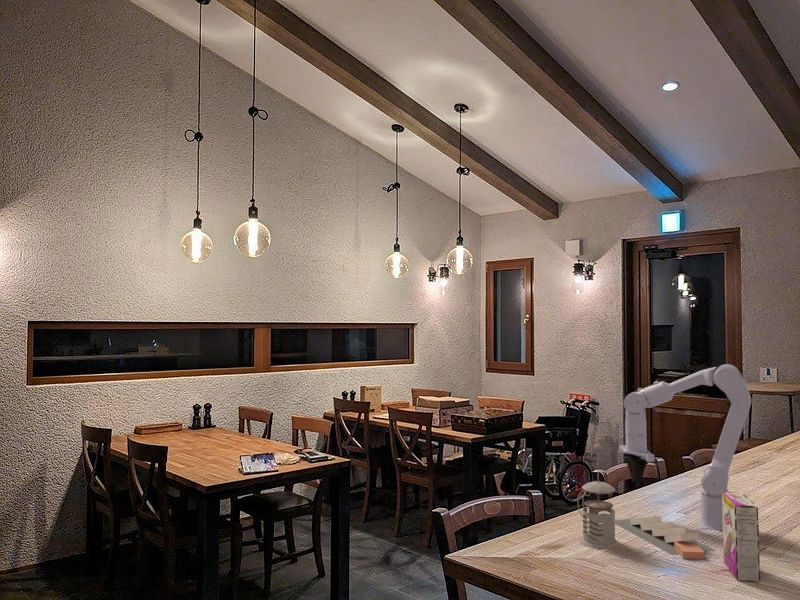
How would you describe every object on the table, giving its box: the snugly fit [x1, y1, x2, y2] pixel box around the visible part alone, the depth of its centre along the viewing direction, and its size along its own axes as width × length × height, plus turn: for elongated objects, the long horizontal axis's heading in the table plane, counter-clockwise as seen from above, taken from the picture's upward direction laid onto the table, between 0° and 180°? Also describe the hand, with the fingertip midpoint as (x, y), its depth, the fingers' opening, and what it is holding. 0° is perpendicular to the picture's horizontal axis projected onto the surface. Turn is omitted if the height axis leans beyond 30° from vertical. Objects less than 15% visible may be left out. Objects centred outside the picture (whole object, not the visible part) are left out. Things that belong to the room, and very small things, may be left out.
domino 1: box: [629, 515, 662, 525], centre depth 181 cm, size 2×5×7 cm
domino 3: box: [652, 526, 687, 536], centre depth 171 cm, size 2×5×7 cm
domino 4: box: [664, 532, 701, 543], centre depth 166 cm, size 2×5×7 cm
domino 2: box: [640, 521, 674, 531], centre depth 176 cm, size 2×5×7 cm
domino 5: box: [674, 542, 706, 560], centre depth 161 cm, size 2×5×7 cm
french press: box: [577, 443, 619, 550], centre depth 171 cm, size 10×12×25 cm
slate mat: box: [614, 518, 716, 556], centre depth 175 cm, size 28×12×1 cm, turn 13°
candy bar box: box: [722, 492, 761, 583], centre depth 150 cm, size 11×5×16 cm, turn 168°
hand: (636, 482), depth 192 cm, fingers closed
